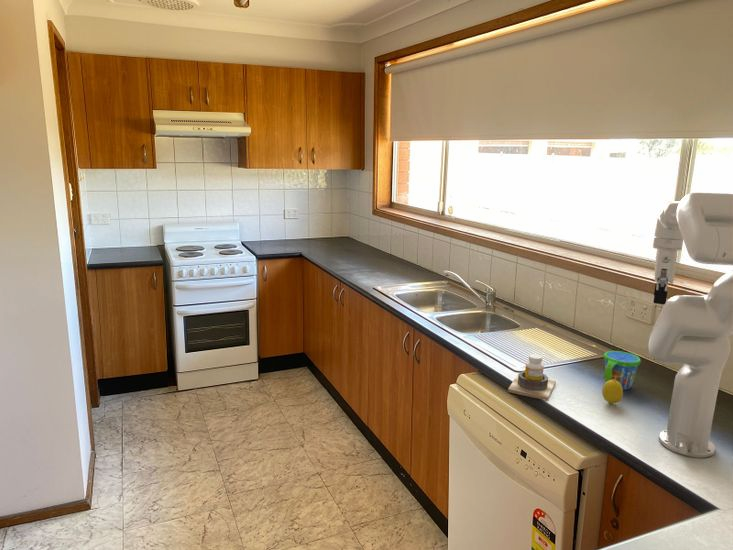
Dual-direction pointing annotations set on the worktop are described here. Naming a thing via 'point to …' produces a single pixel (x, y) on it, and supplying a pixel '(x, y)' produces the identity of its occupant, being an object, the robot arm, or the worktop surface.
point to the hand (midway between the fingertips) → (659, 300)
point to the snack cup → (621, 367)
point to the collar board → (532, 386)
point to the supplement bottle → (534, 367)
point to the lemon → (612, 391)
